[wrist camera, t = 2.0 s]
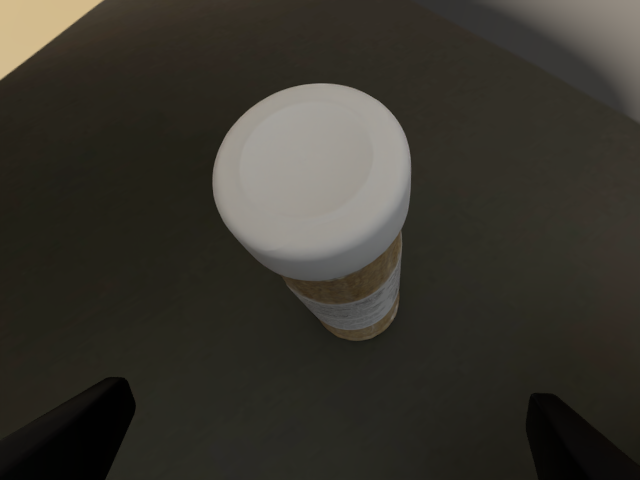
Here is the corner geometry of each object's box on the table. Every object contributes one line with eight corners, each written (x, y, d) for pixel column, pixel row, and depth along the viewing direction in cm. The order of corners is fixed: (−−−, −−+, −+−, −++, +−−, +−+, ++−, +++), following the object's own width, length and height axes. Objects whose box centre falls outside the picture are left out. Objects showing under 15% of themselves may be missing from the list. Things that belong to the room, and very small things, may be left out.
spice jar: (329, 249, 22) (249, 63, 10) (410, 270, 21) (435, 87, 9) (302, 328, 21) (172, 226, 8) (387, 355, 20) (380, 282, 7)
